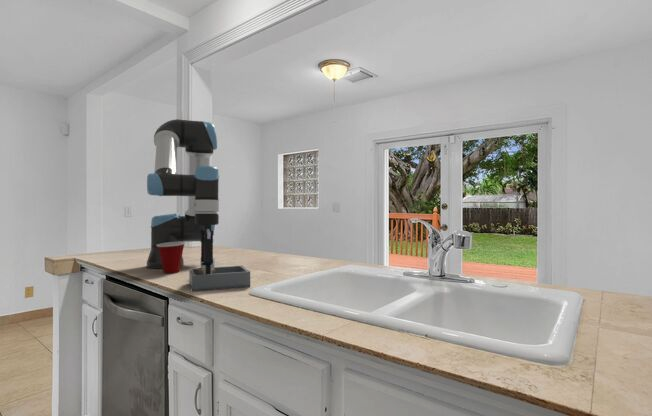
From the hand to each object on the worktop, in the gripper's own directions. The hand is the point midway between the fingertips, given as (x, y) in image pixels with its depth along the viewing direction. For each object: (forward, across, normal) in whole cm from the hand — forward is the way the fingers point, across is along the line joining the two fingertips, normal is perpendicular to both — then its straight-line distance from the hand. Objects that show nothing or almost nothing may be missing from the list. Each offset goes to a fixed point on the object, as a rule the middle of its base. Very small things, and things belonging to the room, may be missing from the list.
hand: (206, 282), depth 121 cm
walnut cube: (0, 0, 0) cm, 0 cm away
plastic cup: (+1, -33, -10) cm, 35 cm away
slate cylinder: (+1, -17, +2) cm, 17 cm away
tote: (+1, 0, +4) cm, 4 cm away
